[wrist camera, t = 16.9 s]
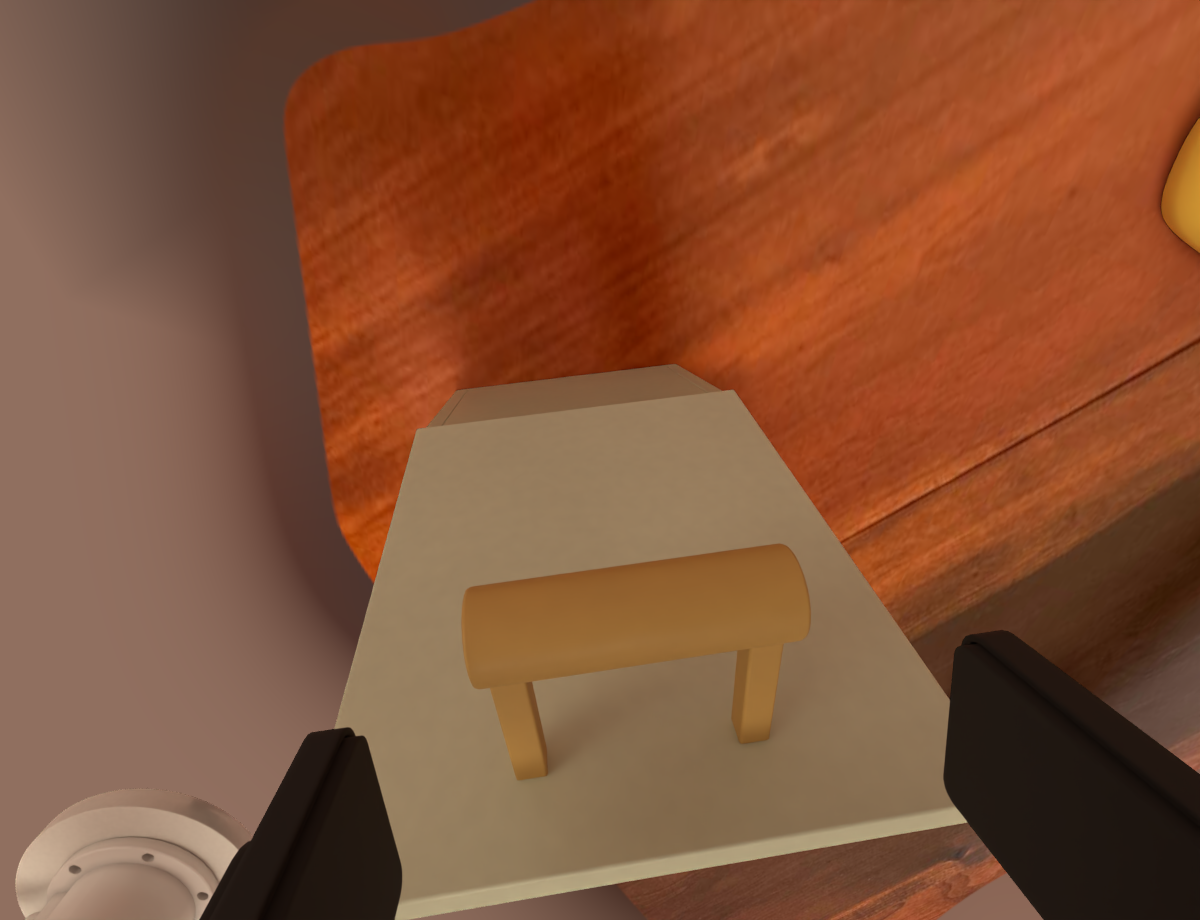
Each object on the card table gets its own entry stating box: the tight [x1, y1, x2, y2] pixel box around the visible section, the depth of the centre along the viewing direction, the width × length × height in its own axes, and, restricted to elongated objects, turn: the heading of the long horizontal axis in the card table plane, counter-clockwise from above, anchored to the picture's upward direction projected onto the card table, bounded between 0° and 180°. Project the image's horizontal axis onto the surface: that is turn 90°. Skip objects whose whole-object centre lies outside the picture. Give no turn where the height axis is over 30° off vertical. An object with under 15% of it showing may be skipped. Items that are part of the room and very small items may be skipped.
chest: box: [426, 364, 722, 428], centre depth 36 cm, size 18×15×12 cm
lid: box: [334, 390, 967, 920], centre depth 18 cm, size 18×15×6 cm
